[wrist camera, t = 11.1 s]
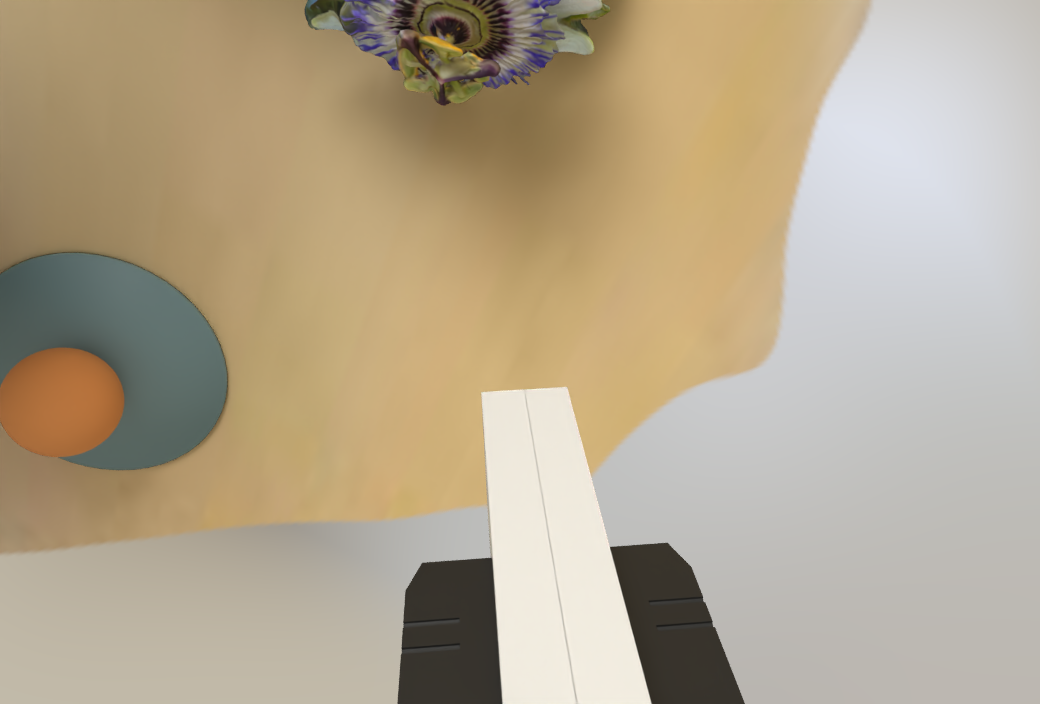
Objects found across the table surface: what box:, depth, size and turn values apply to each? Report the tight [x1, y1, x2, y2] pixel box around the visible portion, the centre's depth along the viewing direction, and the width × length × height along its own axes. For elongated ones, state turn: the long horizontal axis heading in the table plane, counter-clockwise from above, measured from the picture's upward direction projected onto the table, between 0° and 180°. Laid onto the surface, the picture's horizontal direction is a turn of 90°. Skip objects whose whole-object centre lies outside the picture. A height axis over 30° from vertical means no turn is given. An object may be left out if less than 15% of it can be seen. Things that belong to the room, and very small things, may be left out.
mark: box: [0, 253, 227, 470], centre depth 41 cm, size 13×13×1 cm
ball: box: [0, 348, 124, 457], centre depth 39 cm, size 6×6×6 cm
